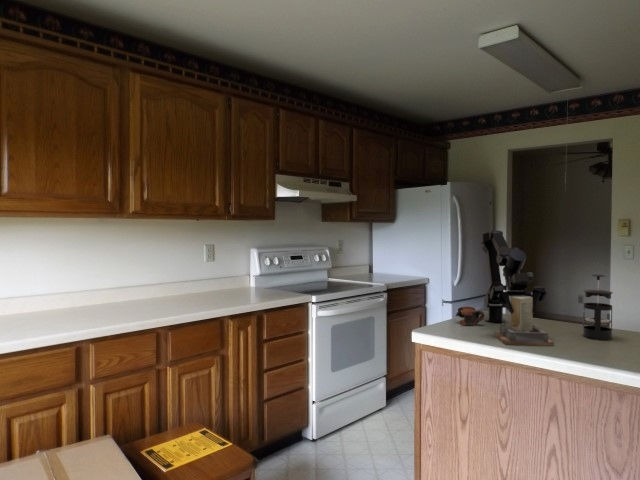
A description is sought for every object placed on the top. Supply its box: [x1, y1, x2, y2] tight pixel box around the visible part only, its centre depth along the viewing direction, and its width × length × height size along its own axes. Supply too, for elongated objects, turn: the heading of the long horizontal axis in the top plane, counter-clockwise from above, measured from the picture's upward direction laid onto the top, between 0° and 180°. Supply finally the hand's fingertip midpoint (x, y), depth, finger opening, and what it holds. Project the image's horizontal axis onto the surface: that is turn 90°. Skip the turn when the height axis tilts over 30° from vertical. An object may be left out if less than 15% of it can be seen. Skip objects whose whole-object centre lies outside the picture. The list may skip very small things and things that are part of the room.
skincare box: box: [510, 296, 534, 332], centre depth 163 cm, size 6×4×12 cm
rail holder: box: [493, 324, 555, 347], centre depth 162 cm, size 13×16×4 cm
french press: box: [582, 274, 613, 341], centre depth 167 cm, size 12×9×23 cm
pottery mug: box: [455, 306, 485, 327], centre depth 190 cm, size 12×10×8 cm
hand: (523, 313), depth 162 cm, fingers closed on skincare box, 7 cm apart
